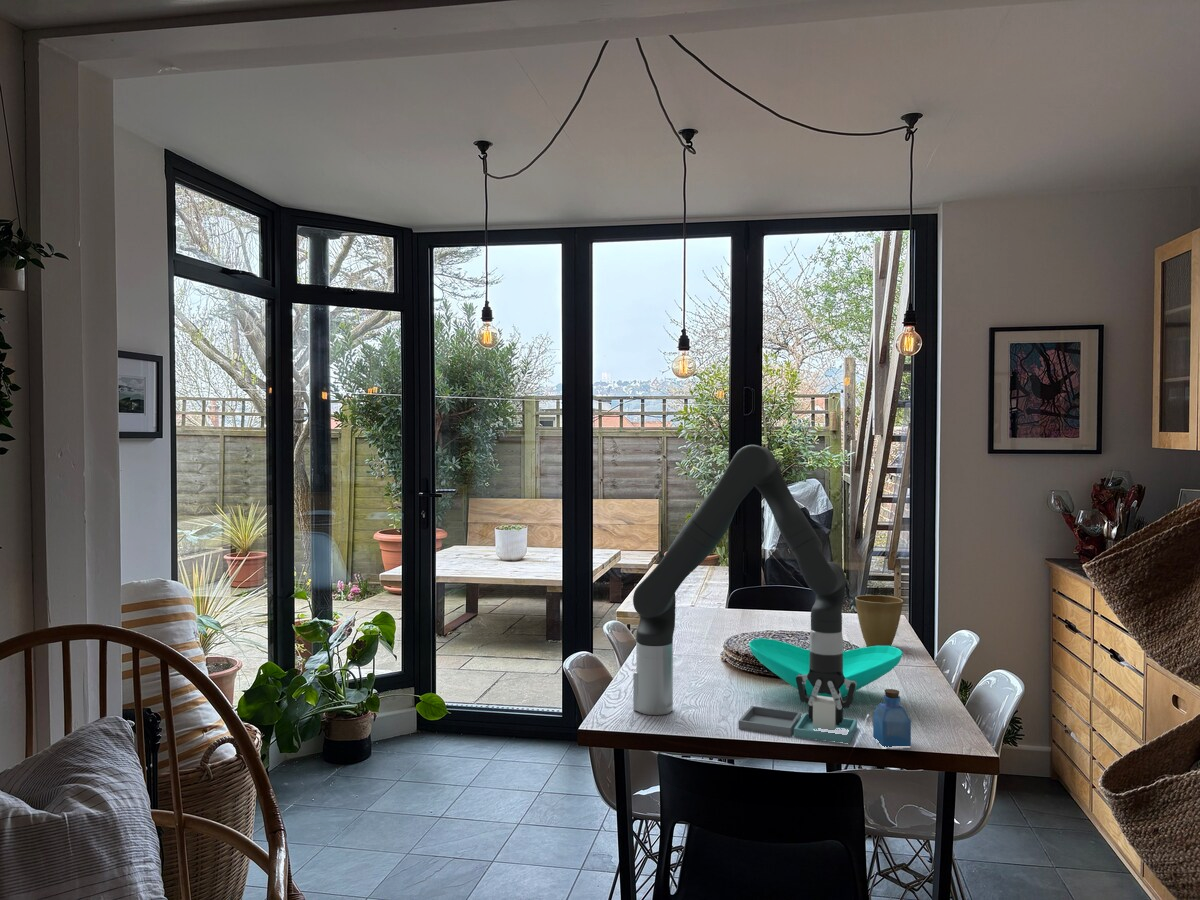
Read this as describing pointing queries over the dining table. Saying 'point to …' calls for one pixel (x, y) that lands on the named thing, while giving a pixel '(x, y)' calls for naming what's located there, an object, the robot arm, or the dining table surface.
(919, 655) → the dining table surface
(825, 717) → the stone block
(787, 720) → the charcoal tray
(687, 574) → the robot arm
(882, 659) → the table top decor
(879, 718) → the perfume bottle
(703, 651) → the dining table surface
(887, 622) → the plant pot
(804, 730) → the teal tray
